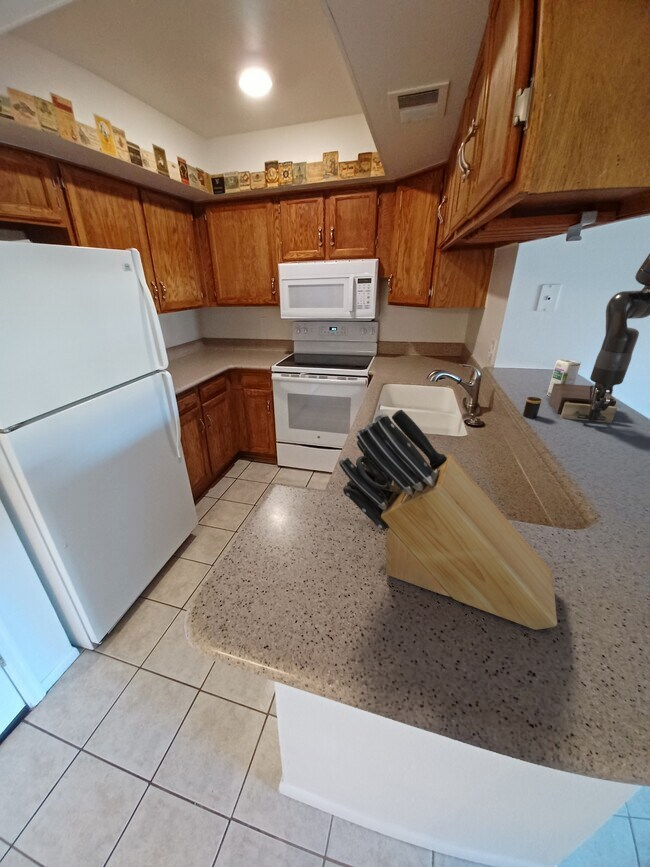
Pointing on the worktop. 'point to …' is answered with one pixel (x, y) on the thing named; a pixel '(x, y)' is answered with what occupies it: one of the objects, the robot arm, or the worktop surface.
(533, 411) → the spice tin
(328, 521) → the worktop surface
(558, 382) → the syrup box
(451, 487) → the knife block
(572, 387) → the cabinet
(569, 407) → the drawer
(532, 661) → the worktop surface
